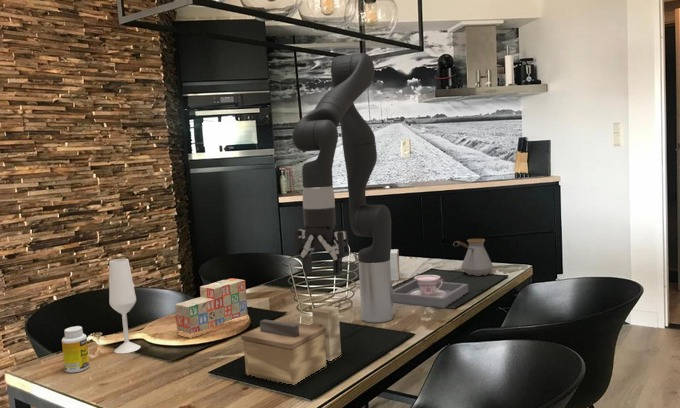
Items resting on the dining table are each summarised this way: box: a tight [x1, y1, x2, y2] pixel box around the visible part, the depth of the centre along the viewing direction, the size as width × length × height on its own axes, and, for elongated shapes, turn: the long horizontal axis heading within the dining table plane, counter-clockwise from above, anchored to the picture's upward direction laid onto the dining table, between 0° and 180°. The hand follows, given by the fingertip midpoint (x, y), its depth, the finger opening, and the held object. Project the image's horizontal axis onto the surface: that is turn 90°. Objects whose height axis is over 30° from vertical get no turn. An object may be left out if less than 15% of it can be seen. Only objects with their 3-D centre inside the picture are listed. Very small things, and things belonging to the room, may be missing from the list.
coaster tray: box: [393, 279, 469, 309], centre depth 188 cm, size 19×19×3 cm
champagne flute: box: [108, 258, 141, 354], centre depth 154 cm, size 7×7×24 cm
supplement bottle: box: [61, 325, 90, 374], centre depth 141 cm, size 6×6×10 cm
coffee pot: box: [452, 238, 494, 277], centre depth 213 cm, size 21×12×15 cm, turn 140°
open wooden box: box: [242, 333, 327, 386], centre depth 133 cm, size 12×14×8 cm
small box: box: [390, 248, 401, 282], centre depth 217 cm, size 8×6×10 cm
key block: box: [311, 305, 342, 362], centre depth 139 cm, size 4×4×12 cm
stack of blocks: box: [175, 278, 248, 334], centre depth 169 cm, size 21×6×12 cm, turn 142°
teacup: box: [410, 274, 447, 298], centre depth 188 cm, size 12×12×6 cm
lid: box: [240, 319, 326, 349], centre depth 133 cm, size 14×15×3 cm
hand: (322, 273), depth 138 cm, fingers open, 8 cm apart
